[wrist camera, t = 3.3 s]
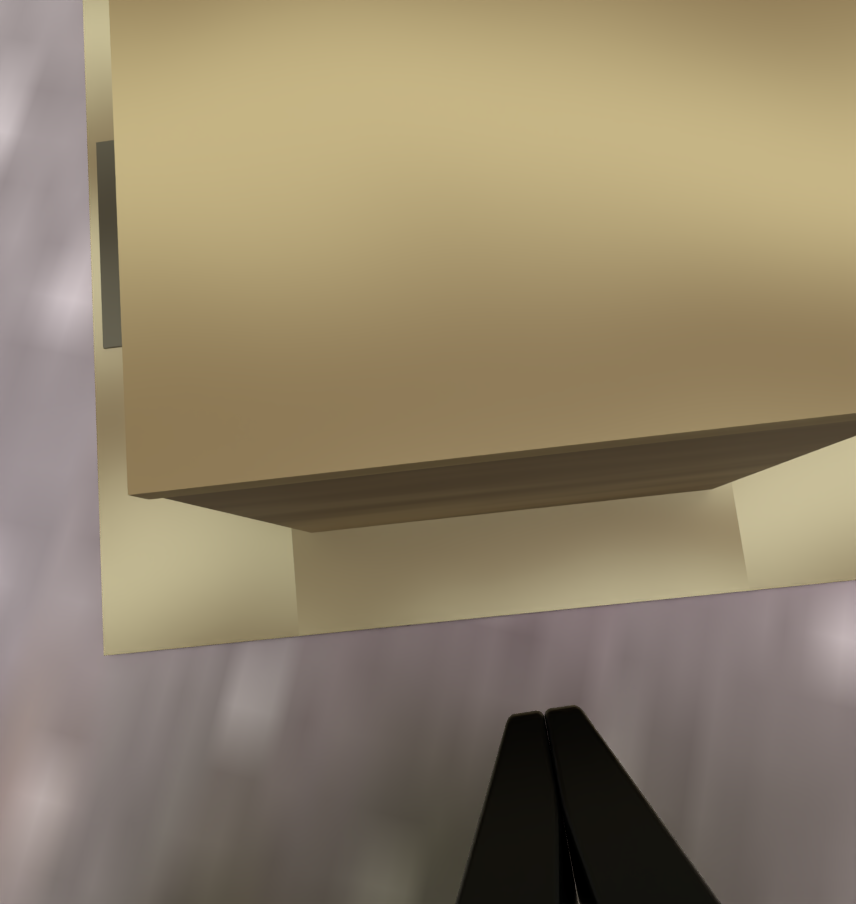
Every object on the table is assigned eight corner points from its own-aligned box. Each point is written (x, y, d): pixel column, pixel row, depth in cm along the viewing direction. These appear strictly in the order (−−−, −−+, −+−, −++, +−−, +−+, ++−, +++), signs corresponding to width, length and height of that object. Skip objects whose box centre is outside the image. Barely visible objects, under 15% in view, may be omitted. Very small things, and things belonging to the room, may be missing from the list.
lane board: (952, 568, 19) (1077, 568, 15) (113, 653, 20) (20, 673, 16) (764, -315, 23) (822, -500, 19) (83, -202, 24) (5, -354, 20)
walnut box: (713, 491, 19) (965, 400, 9) (309, 534, 19) (127, 494, 10) (630, -16, 21) (757, -530, 11) (271, 36, 22) (92, -410, 12)
